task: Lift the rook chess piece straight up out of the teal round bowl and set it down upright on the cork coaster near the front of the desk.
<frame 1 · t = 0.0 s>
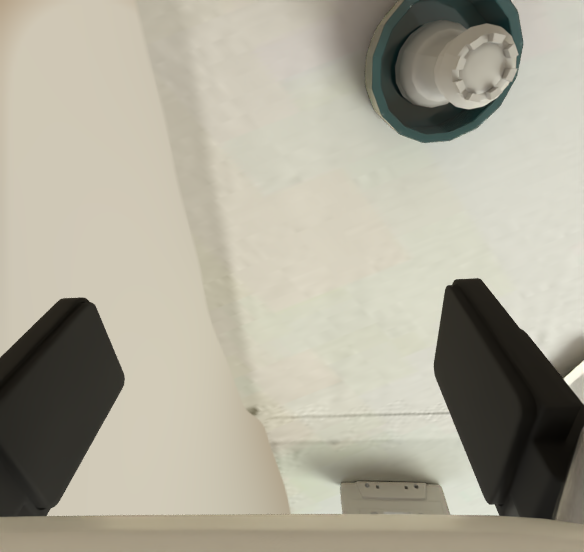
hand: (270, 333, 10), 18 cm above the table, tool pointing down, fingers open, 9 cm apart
touchpad: (558, 406, 37), on the table
cassette: (389, 483, 45), on the table
rook chess piece: (429, 65, 23), resting on teal round bowl
teal round bowl: (429, 65, 23), on the table, touching rook chess piece
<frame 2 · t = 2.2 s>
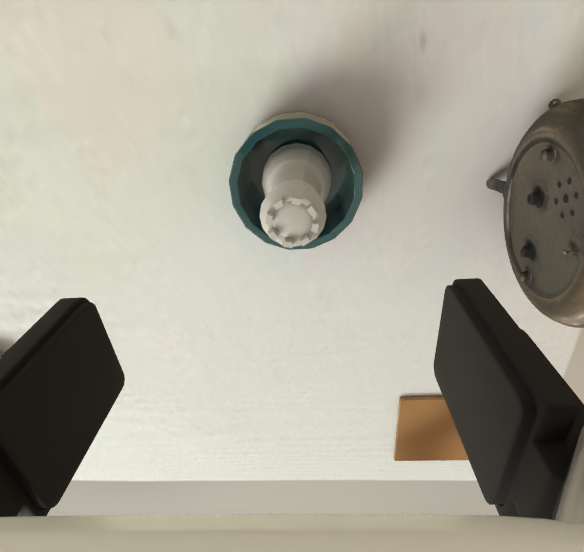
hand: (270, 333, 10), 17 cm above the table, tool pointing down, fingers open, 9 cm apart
alarm clock: (519, 178, 24), on the table
coaster: (443, 428, 36), on the table
rook chess piece: (297, 176, 24), resting on teal round bowl
teal round bowl: (297, 176, 25), on the table, touching rook chess piece
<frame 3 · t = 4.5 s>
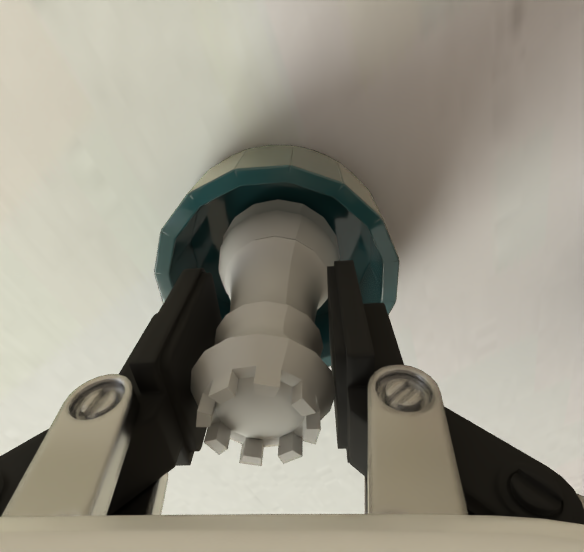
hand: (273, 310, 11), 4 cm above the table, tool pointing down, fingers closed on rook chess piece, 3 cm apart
rook chess piece: (281, 248, 15), resting on teal round bowl, touching gripper
teal round bowl: (281, 247, 15), on the table, touching rook chess piece
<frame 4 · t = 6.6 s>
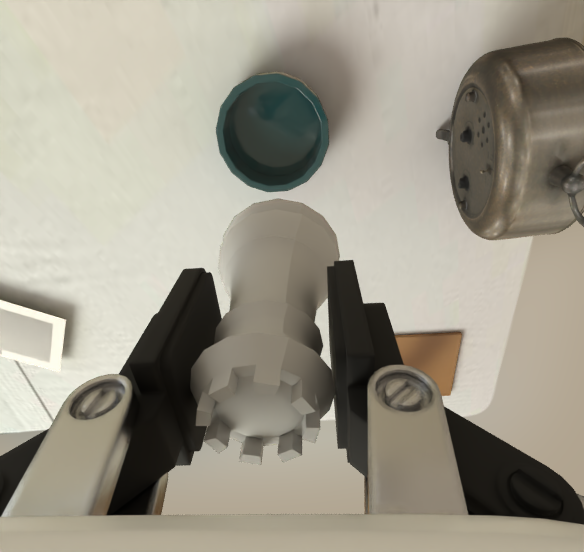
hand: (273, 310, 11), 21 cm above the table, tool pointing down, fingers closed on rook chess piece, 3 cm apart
alarm clock: (464, 130, 28), on the table
coaster: (412, 366, 41), on the table
rook chess piece: (281, 248, 15), point 17 cm above the table, touching gripper
teal round bowl: (275, 129, 29), on the table
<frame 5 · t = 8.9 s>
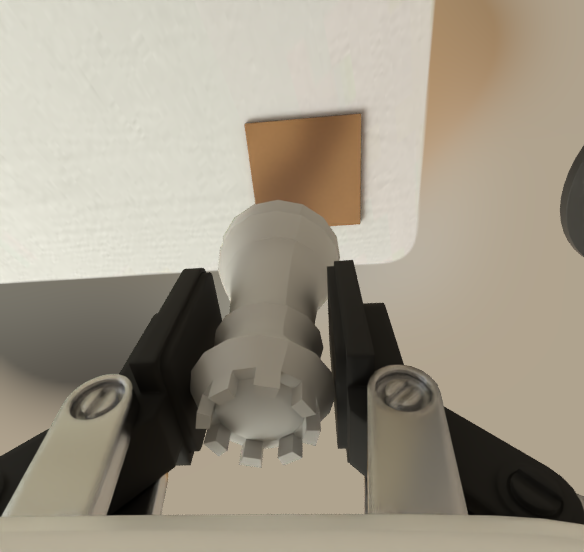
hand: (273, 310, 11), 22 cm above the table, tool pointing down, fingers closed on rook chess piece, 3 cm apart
coaster: (306, 176, 31), on the table
rook chess piece: (281, 249, 15), point 18 cm above the table, touching gripper
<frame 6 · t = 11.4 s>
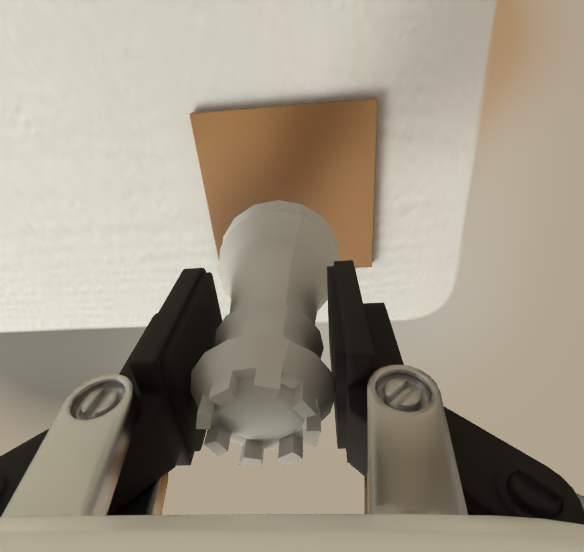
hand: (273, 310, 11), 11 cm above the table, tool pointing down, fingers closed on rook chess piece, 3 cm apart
coaster: (289, 195, 20), on the table
rook chess piece: (281, 249, 15), point 7 cm above the table, touching gripper
when the fingers open (4 cm above the table, at t = 13.2 s): rook chess piece stays where it is, resting on coaster.
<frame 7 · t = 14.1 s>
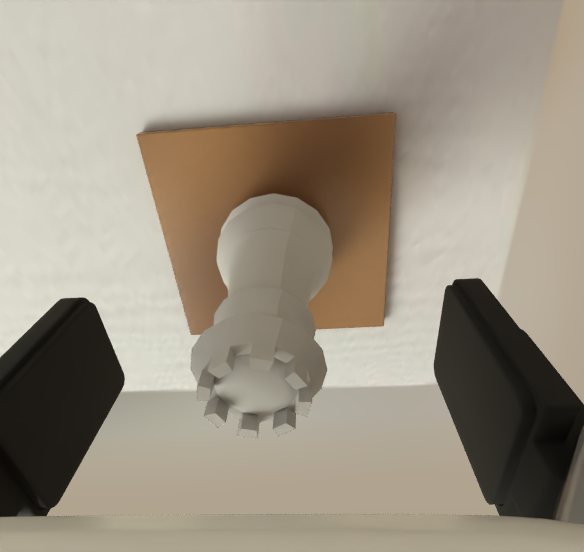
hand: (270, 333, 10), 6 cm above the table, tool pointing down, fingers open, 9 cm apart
coaster: (276, 239, 15), on the table
rook chess piece: (276, 241, 15), resting on coaster
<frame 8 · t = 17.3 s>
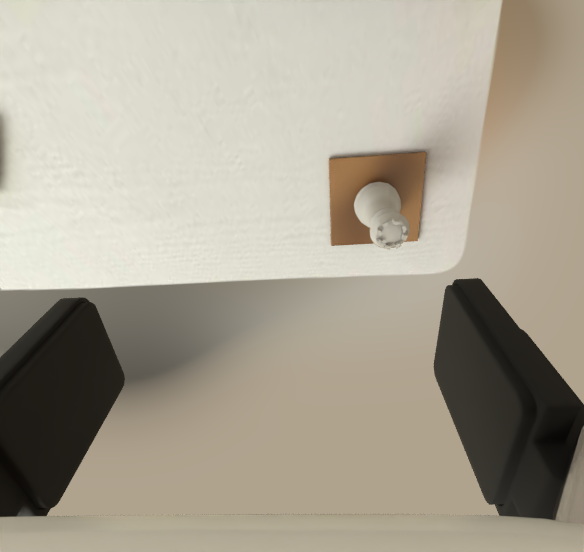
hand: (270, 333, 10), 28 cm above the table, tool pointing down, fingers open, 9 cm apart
coaster: (375, 201, 37), on the table
rook chess piece: (375, 201, 37), resting on coaster
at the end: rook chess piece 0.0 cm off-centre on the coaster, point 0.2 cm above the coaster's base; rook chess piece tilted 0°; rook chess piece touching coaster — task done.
